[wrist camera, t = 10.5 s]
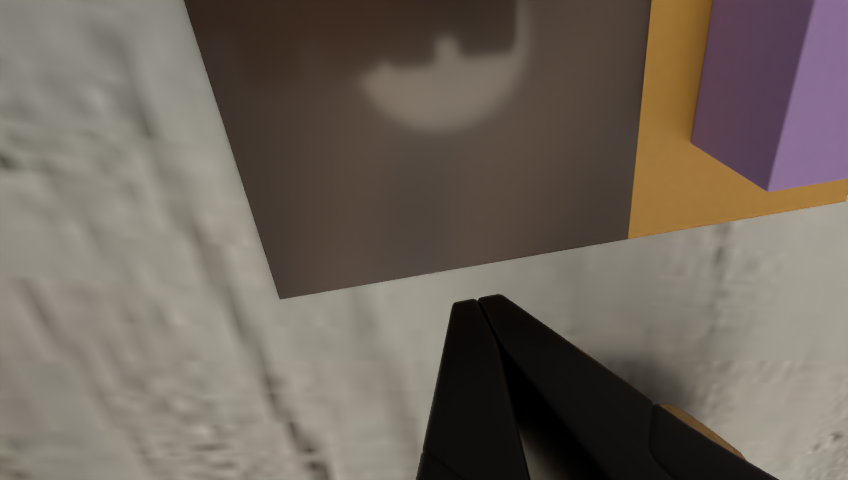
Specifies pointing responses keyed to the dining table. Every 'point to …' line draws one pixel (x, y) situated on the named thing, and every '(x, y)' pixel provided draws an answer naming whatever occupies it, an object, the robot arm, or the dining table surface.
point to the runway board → (426, 129)
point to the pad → (672, 132)
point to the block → (776, 91)
